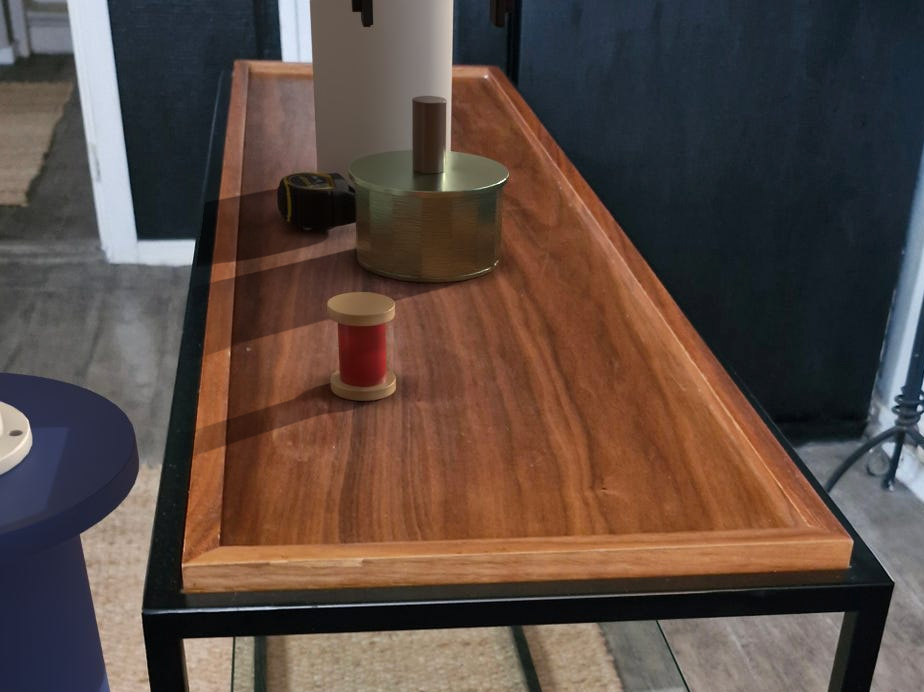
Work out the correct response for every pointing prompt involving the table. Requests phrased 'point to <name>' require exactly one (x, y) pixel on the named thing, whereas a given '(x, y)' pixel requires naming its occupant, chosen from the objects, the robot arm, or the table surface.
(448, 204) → the sewing tin
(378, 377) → the spool
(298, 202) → the tape measure
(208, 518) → the table surface
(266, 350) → the table surface
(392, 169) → the lid
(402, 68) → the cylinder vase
